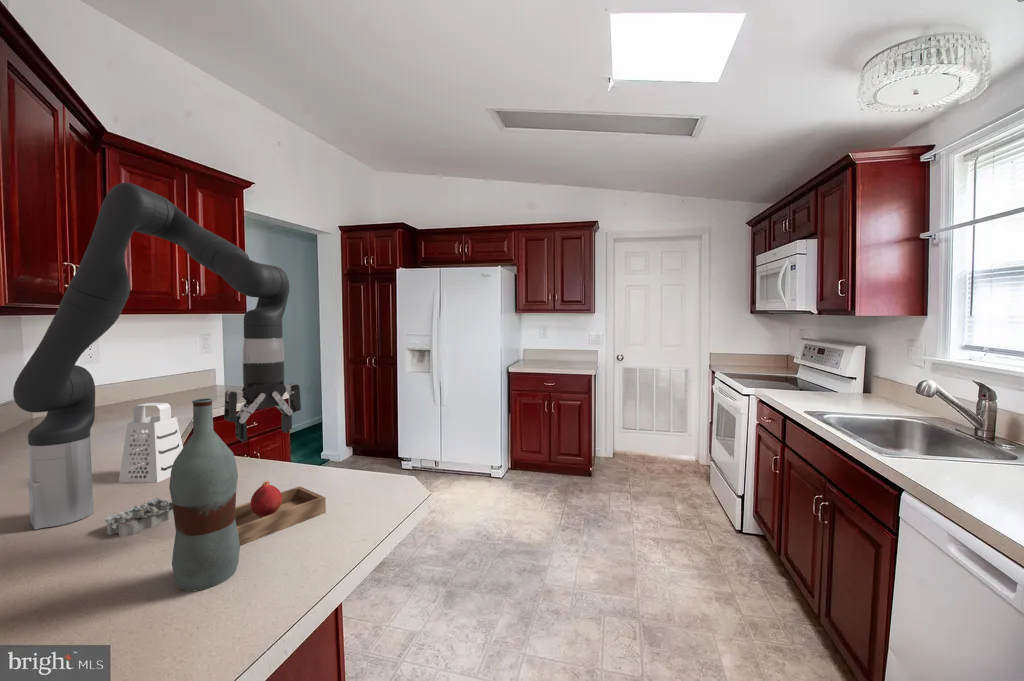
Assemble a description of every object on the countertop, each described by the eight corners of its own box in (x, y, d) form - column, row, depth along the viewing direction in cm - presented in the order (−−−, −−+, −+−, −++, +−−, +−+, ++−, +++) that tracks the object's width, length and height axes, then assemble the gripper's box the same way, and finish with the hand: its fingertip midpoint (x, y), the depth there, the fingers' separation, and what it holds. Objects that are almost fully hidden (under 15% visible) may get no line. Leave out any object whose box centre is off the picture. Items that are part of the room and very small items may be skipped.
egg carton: (123, 540, 84) (122, 520, 84) (100, 534, 87) (99, 514, 87) (181, 516, 94) (180, 498, 94) (158, 511, 97) (158, 494, 97)
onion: (268, 526, 88) (266, 488, 87) (244, 523, 89) (242, 486, 88) (288, 512, 93) (287, 477, 93) (266, 510, 95) (264, 475, 94)
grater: (157, 482, 114) (154, 408, 113) (118, 482, 114) (115, 407, 113) (187, 469, 124) (185, 400, 123) (152, 468, 125) (150, 400, 124)
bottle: (163, 599, 66) (157, 407, 65) (182, 568, 74) (176, 397, 73) (235, 585, 70) (230, 402, 68) (245, 556, 78) (240, 393, 77)
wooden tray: (225, 551, 80) (224, 533, 80) (202, 534, 86) (201, 517, 86) (325, 512, 96) (325, 497, 96) (300, 500, 102) (299, 486, 102)
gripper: (289, 356, 97) (289, 427, 98) (217, 361, 86) (219, 440, 87) (306, 358, 93) (307, 432, 94) (233, 363, 82) (235, 447, 82)
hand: (265, 436), depth 90 cm, fingers open, 8 cm apart
